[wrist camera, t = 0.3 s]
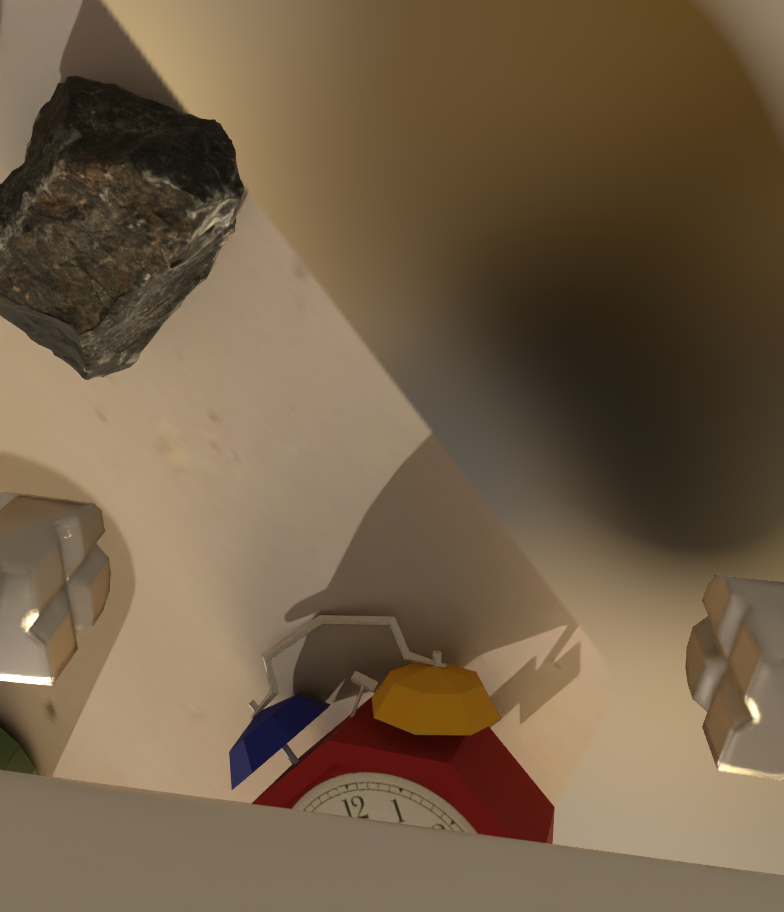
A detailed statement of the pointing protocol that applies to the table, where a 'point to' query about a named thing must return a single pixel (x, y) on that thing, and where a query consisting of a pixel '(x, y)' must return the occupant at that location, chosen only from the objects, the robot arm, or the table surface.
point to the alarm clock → (398, 751)
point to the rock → (111, 222)
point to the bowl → (13, 756)
